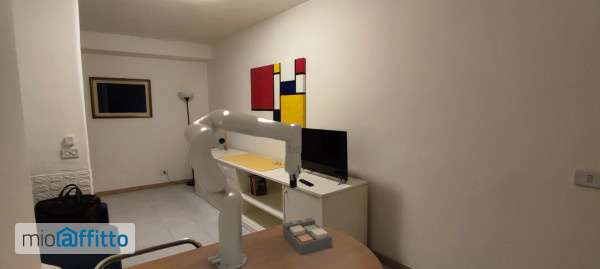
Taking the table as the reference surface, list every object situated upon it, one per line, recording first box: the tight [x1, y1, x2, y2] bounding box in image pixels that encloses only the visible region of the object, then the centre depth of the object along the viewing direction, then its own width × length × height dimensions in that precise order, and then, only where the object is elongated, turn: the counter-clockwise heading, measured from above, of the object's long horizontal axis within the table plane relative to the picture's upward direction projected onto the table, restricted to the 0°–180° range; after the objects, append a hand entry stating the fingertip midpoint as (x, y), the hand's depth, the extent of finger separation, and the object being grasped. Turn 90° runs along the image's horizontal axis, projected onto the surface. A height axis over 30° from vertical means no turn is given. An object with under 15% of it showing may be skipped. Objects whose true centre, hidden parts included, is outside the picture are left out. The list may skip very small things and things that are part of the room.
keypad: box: [282, 217, 333, 256], centre depth 136 cm, size 16×19×7 cm
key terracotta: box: [297, 234, 313, 243], centre depth 129 cm, size 6×6×2 cm
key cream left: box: [290, 225, 305, 236], centre depth 136 cm, size 6×6×2 cm
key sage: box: [304, 225, 319, 235], centre depth 139 cm, size 6×6×2 cm
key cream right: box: [311, 227, 328, 239], centre depth 132 cm, size 6×6×2 cm
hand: (293, 187), depth 136 cm, fingers closed
